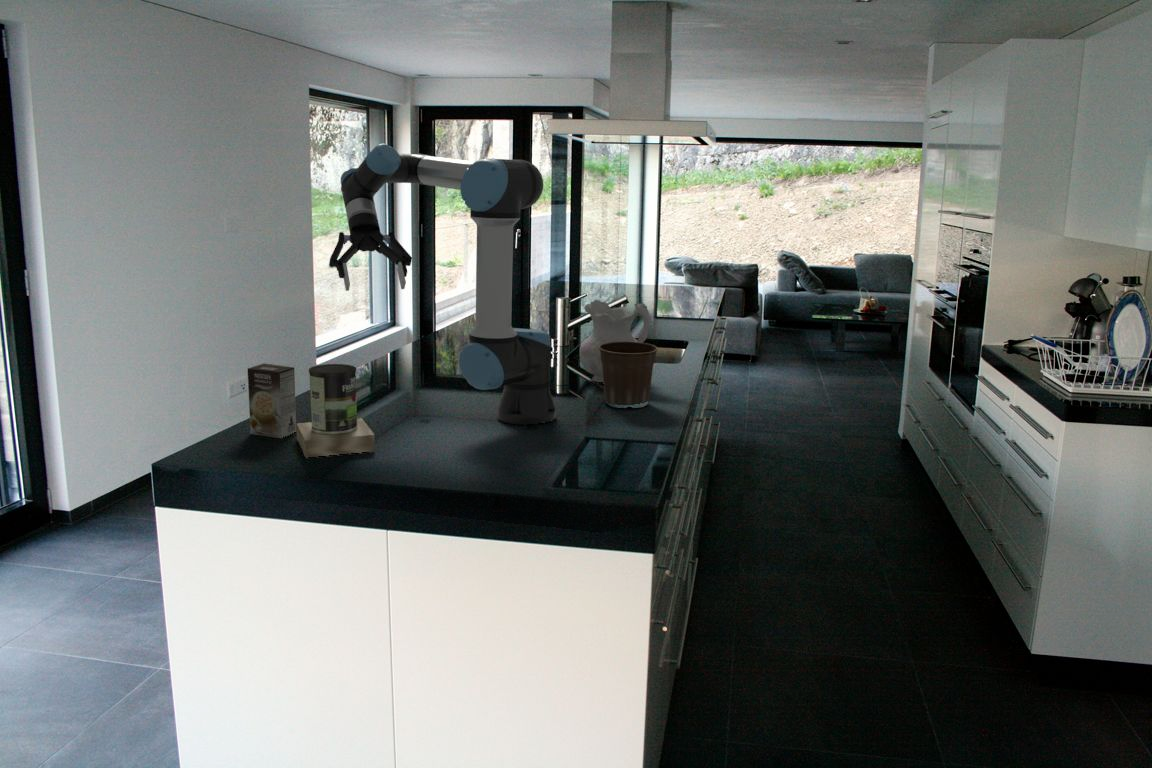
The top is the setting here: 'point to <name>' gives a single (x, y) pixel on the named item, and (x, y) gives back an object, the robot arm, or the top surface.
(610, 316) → the ceramic pitcher
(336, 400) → the coffee can
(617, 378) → the plant pot
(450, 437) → the top surface
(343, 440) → the oak base block
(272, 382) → the coffee box
